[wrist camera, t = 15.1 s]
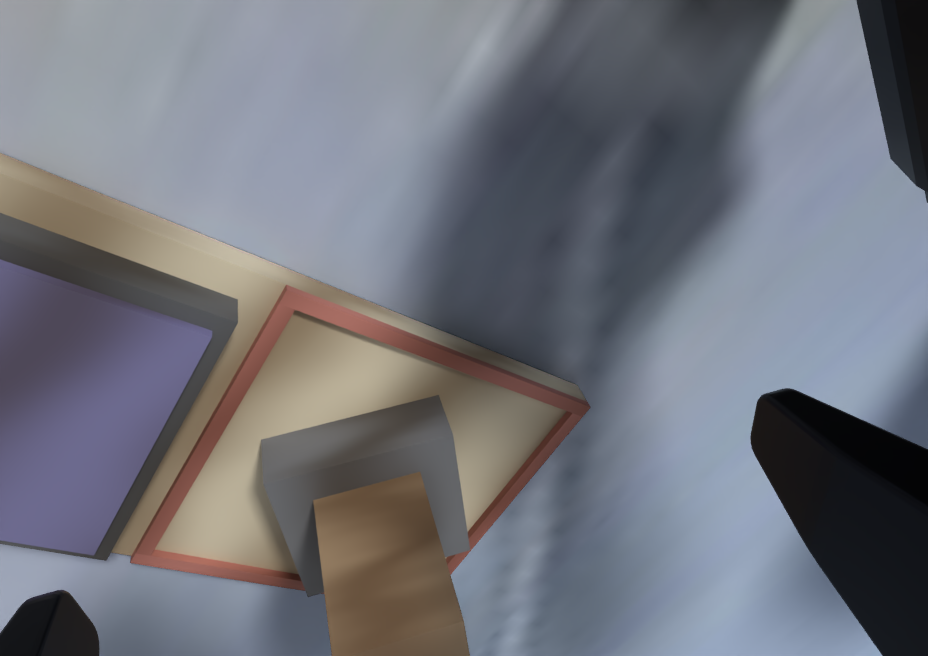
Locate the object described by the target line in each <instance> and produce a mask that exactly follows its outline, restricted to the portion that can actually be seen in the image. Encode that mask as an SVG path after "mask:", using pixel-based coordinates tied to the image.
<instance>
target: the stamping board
mask: <svg viewBox="0 0 928 656" xmlns="http://www.w3.org/2000/svg"><path fill="white" fill-rule="evenodd" d="M436 395H439V397H440V400H441V403H442V406H443V408H444V411H445V414H446V417H447V419H448V422H449V425H450V428H451V430H452V433H453V437H454V444H455V451H456V458H457V464H458V471H459V478H460V484H461V491H462V498H463V505H464V511H465V518H466V525H467V531H468V538H469V545H470V550H469V551H466V552H462V553H459V554H455V555H452V556H448V557H445V559H446V562H447V566H448V569H449V572H450V575H451V574H452V572H453V571H454V570H455V569H456V568H457V566H458V565H459V564H460V563H461V562H462V560H463V559H464V558H465V557H466V556H467V554H468V553H469V552H470V551H471V550H472V548H473V547H474V546H475V545H476V544H477V542H478V541H479V540H480V539H481V538H482V536H483V535H484V534H485V533H486V532H487V531H488V529H489V528H490V527H491V526H492V525H493V523H494V522H495V521H496V520H497V519H498V517H499V516H500V515H501V514H502V513H503V511H504V510H505V509H506V508H507V507H508V505H509V504H510V503H511V502H512V501H513V499H514V498H515V497H516V496H517V495H518V493H519V492H520V491H521V490H522V489H523V487H524V486H525V485H526V484H527V483H528V482H529V480H530V479H531V478H532V477H533V476H534V474H535V473H536V472H537V471H538V470H539V468H540V467H541V466H542V465H543V464H544V462H545V461H546V460H547V459H548V458H549V456H550V455H551V454H552V453H553V452H554V450H555V449H556V448H557V447H558V446H559V444H560V443H561V442H562V441H563V440H564V438H565V437H566V436H567V435H568V434H569V432H570V431H571V430H572V429H573V428H574V427H575V425H576V424H577V423H578V422H579V421H580V419H581V418H582V417H583V416H584V415H585V413H586V412H587V411H588V410H589V409H590V405H589V404H588V402H587V400H586V399H585V397H584V396H583V394H582V392H581V391H580V389H579V387H578V386H577V385H576V384H573V383H571V382H568V381H566V380H563V379H561V378H558V377H556V376H553V375H551V374H548V373H546V372H543V371H541V370H538V369H536V368H533V367H531V366H528V365H526V364H523V363H521V362H518V361H516V360H513V359H511V358H508V357H506V356H503V355H501V354H498V353H496V352H493V351H491V350H488V349H486V348H484V347H481V346H479V345H476V344H474V343H471V342H469V341H466V340H464V339H461V338H459V337H456V336H454V335H451V334H449V333H446V332H444V331H441V330H439V329H436V328H434V327H431V326H429V325H426V324H424V323H421V322H419V321H416V320H414V319H411V318H409V317H406V316H404V315H401V314H399V313H396V312H394V311H392V310H389V309H387V308H384V307H382V306H379V305H377V304H374V303H372V302H369V301H367V300H364V299H362V298H359V297H357V296H354V295H352V294H349V293H347V292H344V291H342V290H339V289H337V288H334V287H332V286H329V285H327V284H324V283H322V282H319V281H317V280H314V279H312V278H309V277H307V276H304V275H302V274H300V273H297V272H295V271H292V270H290V269H287V268H285V267H282V266H280V265H277V264H275V263H272V262H270V261H267V260H265V259H262V258H260V257H257V256H255V255H252V254H250V253H247V252H245V251H242V250H240V249H237V248H235V247H232V246H230V245H227V244H225V243H222V242H220V241H217V240H215V239H212V238H210V237H208V236H205V235H203V234H200V233H198V232H195V231H193V230H190V229H188V228H185V227H183V226H180V225H178V224H175V223H173V222H170V221H168V220H165V219H163V218H160V217H158V216H155V215H153V214H150V213H148V212H145V211H143V210H140V209H138V208H135V207H133V206H130V205H128V204H125V203H123V202H121V201H118V200H116V199H113V198H111V197H108V196H106V195H103V194H101V193H98V192H96V191H93V190H91V189H88V188H86V187H83V186H81V185H78V184H76V183H73V182H71V181H68V180H66V179H63V178H61V177H58V176H56V175H53V174H51V173H48V172H46V171H43V170H41V169H38V168H36V167H33V166H31V165H29V164H26V163H24V162H21V161H19V160H16V159H14V158H11V157H9V156H6V155H4V154H1V153H0V544H5V545H11V546H18V547H24V548H30V549H37V550H43V551H49V552H55V553H62V554H68V555H74V556H80V557H87V558H93V559H99V560H105V561H106V560H107V559H108V557H109V555H110V553H111V552H112V553H118V554H124V555H130V556H131V562H130V563H134V564H141V565H147V566H153V567H159V568H166V569H172V570H178V571H184V572H191V573H197V574H203V575H209V576H215V577H222V578H228V579H234V580H240V581H247V582H253V583H259V584H265V585H271V586H278V587H284V588H290V589H296V590H303V591H305V588H304V586H303V583H302V581H301V578H300V576H299V573H298V571H297V568H296V566H295V563H294V560H293V558H292V555H291V553H290V550H289V548H288V545H287V543H286V540H285V538H284V535H283V533H282V530H281V528H280V525H279V523H278V520H277V518H276V515H275V513H274V510H273V508H272V505H271V503H270V500H269V498H268V495H267V493H266V490H265V488H264V485H263V468H262V448H261V440H262V439H266V438H270V437H274V436H278V435H282V434H285V433H289V432H293V431H297V430H301V429H305V428H309V427H313V426H317V425H321V424H325V423H329V422H333V421H337V420H341V419H345V418H349V417H353V416H357V415H361V414H365V413H369V412H373V411H377V410H381V409H385V408H388V407H392V406H396V405H400V404H404V403H408V402H412V401H416V400H420V399H424V398H428V397H432V396H436ZM321 594H324V593H321Z"/></svg>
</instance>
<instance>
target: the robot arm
mask: <svg viewBox="0 0 928 656" xmlns="http://www.w3.org/2000/svg"><path fill="white" fill-rule="evenodd" d="M857 5H858V10H859V14H860V19H861V24H862V28H863V33H864V37H865V42H866V47H867V51H868V56H869V61H870V65H871V70H872V74H873V79H874V84H875V88H876V93H877V98H878V102H879V107H880V111H881V116H882V121H883V125H884V130H885V135H886V139H887V144H888V148H889V153H890V158H891V159H892V161H893V162H894V163H895V164H896V165H897V166H898V167H899V168H900V169H901V170H902V171H903V172H904V173H905V174H906V175H907V176H908V177H909V179H910V180H911V181H912V182H913V183H914V184H915V185H916V186H918V187H919V188H921V189H923V190H924V191H925V195H926V200H927V203H928V0H857ZM751 446H752V449H753V452H754V454H755V456H756V458H757V460H758V462H759V463H760V465H761V467H762V469H763V470H764V472H765V474H766V476H767V478H768V479H769V481H770V483H771V485H772V487H773V488H774V490H775V492H776V494H777V495H778V497H779V499H780V501H781V503H782V504H783V506H784V508H785V510H786V512H787V513H788V515H789V517H790V519H791V520H792V522H793V524H794V526H795V528H796V529H797V531H798V533H799V535H800V536H801V538H802V540H803V541H804V543H805V545H806V546H807V548H808V550H809V551H810V553H811V554H812V556H813V557H814V559H815V560H816V562H817V563H818V565H819V566H820V568H821V569H822V570H823V572H824V573H825V575H826V576H827V577H828V579H829V580H830V582H831V583H832V585H833V586H834V587H835V589H836V590H837V592H838V593H839V594H840V596H841V597H842V599H843V600H844V602H845V603H846V604H847V606H848V607H849V609H850V610H851V611H852V613H853V614H854V616H855V617H856V619H857V620H858V621H859V623H860V624H861V626H862V627H863V629H864V630H865V631H866V633H867V634H868V636H869V637H870V638H871V640H872V641H873V643H874V644H875V646H876V647H877V648H878V650H879V651H880V653H881V654H882V655H883V656H928V449H926V448H924V447H921V446H919V445H917V444H915V443H912V442H910V441H908V440H906V439H903V438H901V437H899V436H897V435H895V434H892V433H890V432H888V431H886V430H883V429H881V428H879V427H877V426H875V425H872V424H870V423H868V422H866V421H863V420H861V419H859V418H857V417H854V416H852V415H850V414H848V413H846V412H843V411H841V410H839V409H837V408H834V407H832V406H830V405H828V404H826V403H823V402H821V401H819V400H817V399H814V398H812V397H810V396H808V395H805V394H803V393H801V392H799V391H796V390H794V389H790V388H785V389H781V390H777V391H773V392H770V393H766V394H763V395H762V396H761V397H760V398H759V399H758V401H757V405H756V410H755V416H754V421H753V426H752V431H751ZM0 656H99V639H98V634H97V631H96V628H95V626H94V625H93V623H92V622H91V621H90V619H89V618H88V617H87V615H86V614H85V613H84V611H83V610H82V609H81V607H80V606H79V605H78V603H77V602H76V601H75V599H74V598H73V597H72V596H71V594H70V593H69V592H67V591H64V590H57V591H54V592H50V593H46V594H43V595H39V596H36V597H33V598H30V599H28V600H27V601H25V602H24V603H23V604H22V605H21V606H20V607H19V609H18V610H17V611H16V613H15V614H14V615H13V617H12V618H11V619H10V621H9V622H8V623H7V625H6V626H5V627H4V629H3V630H2V631H1V633H0Z"/></svg>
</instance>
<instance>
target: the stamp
mask: <svg viewBox="0 0 928 656" xmlns="http://www.w3.org/2000/svg"><path fill="white" fill-rule="evenodd" d="M261 448H262V468H263V485H264V488H265V490H266V493H267V495H268V498H269V500H270V503H271V505H272V508H273V510H274V513H275V515H276V518H277V520H278V523H279V525H280V528H281V530H282V533H283V535H284V538H285V540H286V543H287V545H288V548H289V550H290V553H291V555H292V558H293V560H294V563H295V566H296V568H297V571H298V573H299V576H300V578H301V581H302V583H303V586H304V588H305V591H306V593H307V596H308V597H310V596H313V595H317V594H320V593H324V594H325V602H326V611H327V619H328V627H329V635H330V644H331V652H332V656H470V654H469V648H468V643H467V637H466V631H465V626H464V620H463V617H462V613H461V610H460V607H459V603H458V600H457V596H456V593H455V590H454V586H453V583H452V579H451V576H450V572H449V569H448V566H447V562H446V559H445V557H448V556H452V555H455V554H459V553H462V552H466V551H469V550H470V545H469V538H468V531H467V525H466V518H465V511H464V505H463V498H462V491H461V484H460V478H459V471H458V464H457V458H456V451H455V444H454V437H453V433H452V430H451V428H450V425H449V422H448V419H447V417H446V414H445V411H444V408H443V406H442V403H441V400H440V397H439V395H436V396H432V397H428V398H424V399H420V400H416V401H412V402H408V403H404V404H400V405H396V406H392V407H388V408H385V409H381V410H377V411H373V412H369V413H365V414H361V415H357V416H353V417H349V418H345V419H341V420H337V421H333V422H329V423H325V424H321V425H317V426H313V427H309V428H305V429H301V430H297V431H293V432H289V433H285V434H282V435H278V436H274V437H270V438H266V439H262V440H261Z"/></svg>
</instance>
